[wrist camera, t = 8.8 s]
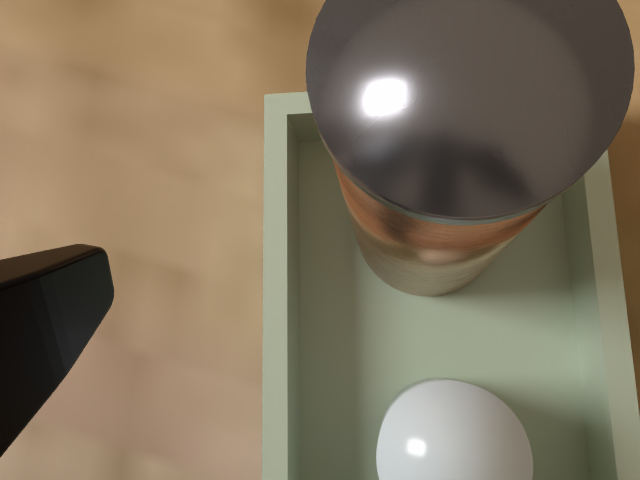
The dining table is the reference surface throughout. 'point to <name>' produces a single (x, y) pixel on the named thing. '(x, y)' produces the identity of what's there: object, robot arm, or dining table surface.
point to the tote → (437, 326)
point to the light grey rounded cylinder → (451, 435)
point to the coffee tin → (462, 121)
